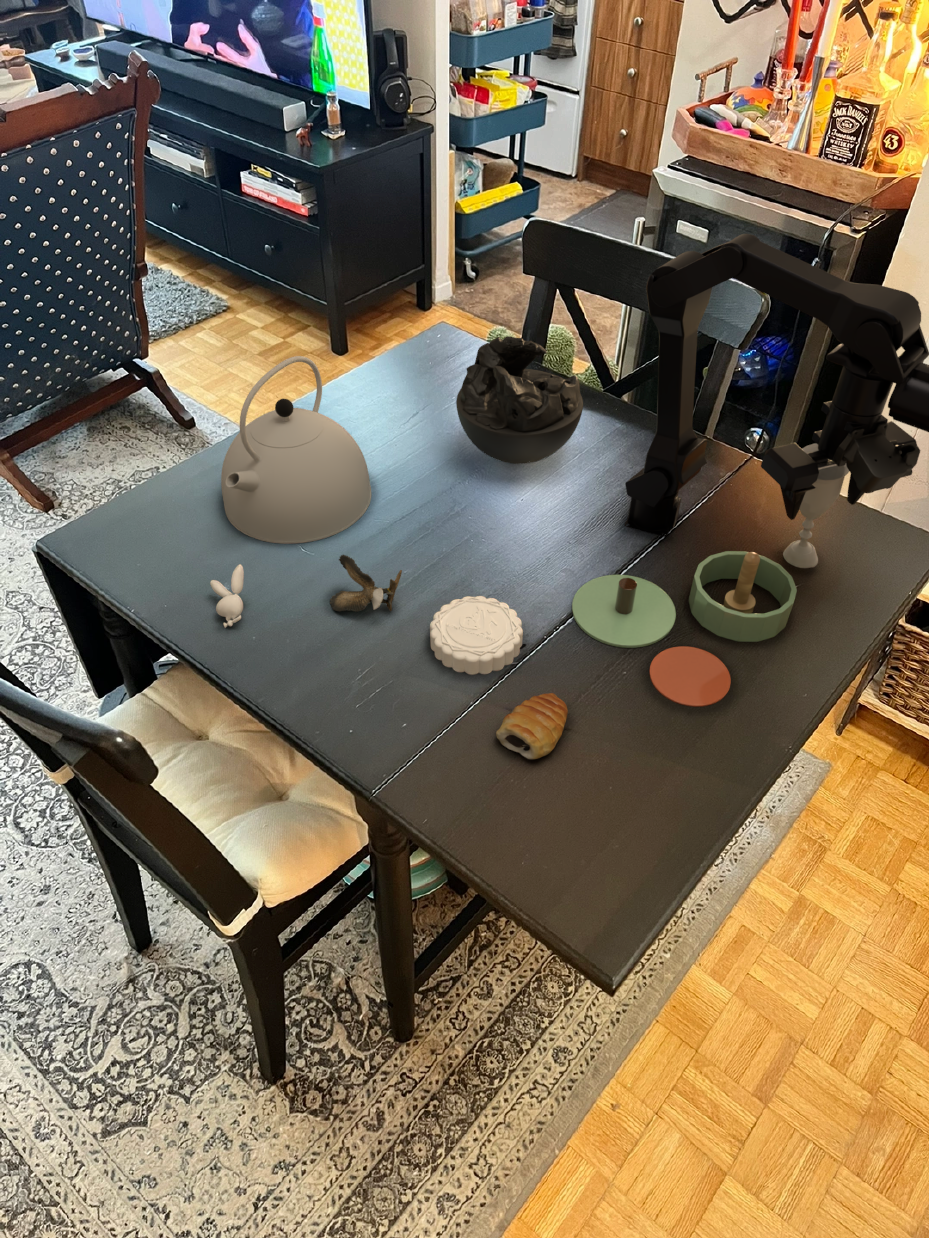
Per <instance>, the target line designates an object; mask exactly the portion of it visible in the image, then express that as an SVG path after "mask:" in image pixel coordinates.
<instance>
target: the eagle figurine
mask: <svg viewBox="0 0 929 1238" xmlns="http://www.w3.org/2000/svg"><path fill="white" fill-rule="evenodd" d="M338 561H339V562H340V563H339V564H341V565H342V568H344V569H345V570H346V572H347V574H348V576H349V577H350V578H351V579H352V580H353V581H354V582H355V583H356V584H358V585H359V586H361V587H362V590H360V591H359V590H355V591H354V590H350V591H348V590H347V591H345V590H340V591H339V592H336V593H335V594H333V595H331V597H330V599H329V604H330V608H332V610H334V611H335V612H346V611H349V612H350V611H351V612H354V613H355V612H356V613H357V612H361V611H364V610H365V609H366V607H367V606H368V605H369V604H372V609H373V610H374V611H375V610H377V609H378V608H380V606H381V604H385V605H386V607H387V609H388V610H389V611H390V612H392V611H393V602H394V599H395V598H394V597H395V594H396V591H397V589H398V586H399V583H400V580H401V577H402V572H403V570H402V569H400V570H399V571H398V573H397V575H396V577H395V578H394V579H392V578H390V579H389V586H388V587H385V588H382V587H378V586H375V585H376V584H375V583H376V582H375V581H374V580H373V578H372V576H370V575H369V574H368V573H365V572H363V571H362V570H361V567H359V566H358V564H357V563H356V560H355V559H353V558H352V557H350V556H348V555H346V554H341V555H340V556H339V558H338ZM384 594H386V596H387V597H386V599H385V598H384Z"/></svg>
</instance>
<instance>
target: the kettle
mask: <svg viewBox="0 0 929 1238" xmlns="http://www.w3.org/2000/svg"><path fill="white" fill-rule="evenodd" d="M295 363H304V364H307V365H308V366H309V367H310V368H311V369H312V372H313V374H314V378H315V384H316V394H315V399H314V404H313V407H312V410H310V409H305V408H301V407H294V404H293V402H292V401H291V399H288V398H280V399H277V400H276V402H275V406H274V409H273V410H271V411H268V412H266V413H264V414H262V415H260V416H258V417H256V418H254V419H253V420H252V421H250V422H249V423H248V424H246V422H247V415H248V412H249V408H250V406H251V404H252V401H253V400H254V398H255V396H256V394H257V393H258V392H259V391H260V389H261V388H262V387H263V386H264V385H265V384H266V383H268V381H269V380H270V379H271V378H272V377H273V376H275V375H276V374H277V373H279V372H280V371H282V370H284V369H285V368H287V367H288V366H290V365H292V364H295ZM322 396H323V382H322V376H321V373H320V370H319V368H318V366H317V365H316V363H315V362H314V361H313V360H312V359H310V358H308V357H307V356H304V355H303V356H302V355H295V356H291V357H288V358H286V359H284V360H282V361H280V362H279V363H278V364H276V365H275V366H274V367H272V368H271V369H269V370H268V371H267V372H265V374H264V375H262V377H260V379H258V381H257V382H256V383H255V384H254V385H253V387H252V388H251V390H250V391H249V392H248V394H247V395H246V398H245V399H244V402H243V404H242V407H241V410H240V416H239V432H238V433H237V434H236V436H235V437H234V438H233V440H232V442H231V444H230V445H229V447H228V449H227V450H226V453H225V456H224V459H223V462H222V467H221V475H220V485H221V495H222V500H223V508H224V512H225V515H226V517H227V519H228V521H229V522H230V523H231V525H232V526H233V527H234V528H235V529H236V530H238V531H239V532H240V533H242V534H244V535H245V536H248V537H250V538H252V539H254V540H255V539H256V540H259V541H262V542H267V543H273V544H285V545H288V544H291V545H293V544H294V545H295V544H304V543H311V542H316V541H320V540H324V539H327V538H329V537H333V536H335V535H337V534H339V533H341V532H343V531H345V530H347V529H348V528H349V527H351V526H353V525H355V523H356V522H358V521H359V520H360V519H361V518H362V517H363V516H364V515H365V513H366V511H368V508H369V507H370V504H371V501H372V486H371V480H370V473H369V467H368V465H367V461H366V459H365V456H364V454H363V451H362V450H361V447H360V445H359V444H358V442H357V440H355V439H354V437H353V435H351V434H350V433H349V431H348V430H346V428H345V427H343V426H342V425H341V424H340V423H338V422H337V421H336V420H334V419H332V418H330V417H329V416H327V415H325V414H322V413H320V412H319V411H320V406H321V401H322Z"/></svg>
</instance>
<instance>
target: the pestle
mask: <svg viewBox="0 0 929 1238" xmlns="http://www.w3.org/2000/svg"><path fill="white" fill-rule="evenodd" d="M748 552H749V551H748ZM759 555H760V554H758V553H757V552H754V551H750V552H749V553H747V554H746V555H745V557H744V560H743V563H742V567H741V570H740V574H739V578H738V579H737V582H736V584H735V589H731V590H729V591H727V592H726V594H725V595H724V598H723V604H722V606H724V607H725V608H727V609H731V610H735V611H738V612H742V613H746V614H754V609H755V606H756V602H757V601H756V598H755V597H754V595H753V594H751V592H752V589H753V585H754V584H755V583H754V579H755V576H756V572H757V569H758V566H759V562H760V557H759Z"/></svg>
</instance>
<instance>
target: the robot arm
mask: <svg viewBox="0 0 929 1238" xmlns="http://www.w3.org/2000/svg"><path fill="white" fill-rule="evenodd" d="M731 279H733V280H736V281H738V282H740V283H742V284H743V285H746V286H748V287H751V288H752V289H754V290H757V291H758V292H761V293H762V294H765V295H767V296H769V297H771V298H773V299H775V300H777V301H779V302H781V303H784V304H785V305H788V306H789V307H791V308H794V309H796V310H798V311H800V312H801V313H804V314H806V315H808V316H809V317H811V318H814V319H816V320H818V321H820V322H821V323H822V324H824V325H825V326H826V327H828V329H829V331H830V332H831V333H832V334H833V336H834V338H835V339H836V340H837V341H838V342H839V343H840V344H838V345H837V346H836V347H835V348H834V349H832V350H831V351H830V352H829V353H827V355H826V356H825V360H827V361H828V362H830V363H834V364H836V365H840V366H842V368H841V372H840V375H839V378H838V382H837V384H836V387H835V391H834V393H833V396H832V400H829V401H825V402H823V403H822V405H821V408H820V411H821V412H822V413H824V414H825V415H826V419H825V421H824V424H823V428H822V430H817V431H814V432H813V434H812V437H811V440H812V442H814V444H816V443H817V444H818V450H819V451H815V452H810V453H806V452H805V451H803V450H802V449H803V448H801V447H800V446H799V444H797V443H796V442H792V443H788V444H784V445H779V446H775V447H771V448H768V449H766V450H764V454H763V456H762V459H761V464H760V468H761V469H763V471H765V472H766V474H768V476H769V477H771V478H772V479H773V480H774V481H775V482H776V484H778V485H779V487H780V492H781V496H782V500H783V505H784V509H785V514H786V517H788V519H789V520H790V521H794V520H795V519H796V517H797V515H798V513H799V511H800V509H799V508H800V506H801V503H802V501H803V498H804V495H805V493H806V491H809V490H812V489H815V488H816V487H815V486H814V485H812V484H813V483H815V482H816V481H817V478H818V475H819V470H820V469H824V468H828V467H833V466H839V467H840V466H844V465H845V464H846V466H847V468H848V470H849V473H850V476H849V481H848V487H847V496H846V501H847V502H848V503H849V504H850V505H851V506H854V505H856V503H857V502H858V501H859V500H860V499H861V498H862V497H863V496H864V494H871V493H874V492H877V491H881V490H885V489H886V490H888V489H891V488H893V486H895V484H896V483H897V482H898V481H899V480H900V479H901V478H906V477H909V476H912V475H913V469H914V468H915V467H916V465H917V464H918V460H919V457H920V454H921V449H920V447H919V446H918V443H917V440H916V438H914V437H913V436H912V435H910V434H909V433H908V432H907V431H905V430H904V428H901V427H900V426H899V425H898V424H897V423H895V422H900V423H902V424H904V425H907V426H910V427H913V428H915V429H918V430H920V431H924V432H927V433H929V364H928V363H925V360H926V359H927V358H928V357H929V348H928V345H927V342H926V339H925V336H924V333H923V330H922V326H921V322H922V311H921V308H920V305H919V304H920V302H919V300H918V299H917V298H916V297H915V296H913V295H912V294H911V293H909V292H906V291H904V290H900V289H897V288H892V287H888V286H884V285H881V284H871V283H857V282H852V281H848V280H844V279H843V278H840V277H838V276H836V275H834V274H832V273H829V272H828V271H825V270H823V269H821V268H819V267H818V266H815V265H813V264H810V263H808V262H806V261H804V260H802V259H799V258H797V257H795V256H793V255H791V254H789V253H787V252H784V251H782V250H780V249H778V248H777V247H774V246H771V245H770V244H767V243H765V242H763V241H761V240H760V239H759V237H757V236H756V235H755V234H750V233H742V234H739V235H737V236H736V237H734V238H732V239H731V240H730V241H727V242H724V243H722V244H719V245H716V246H714V247H712V248H710V249H707V250H706V251H704V252H702V253H701V252H698V251H695V250H686V251H685V252H683V253H680V254H679V255H677V256H676V257H674V258H672V259H671V260H669V261H667V262H665V263H664V264H662V265H660V266H659V267H657V268H656V269H655V270H654V271H653V272H652V273H651V274H650V275H649V277H648V278H647V280H646V289H645V290H646V297H647V305H648V313H649V316H650V318H651V320H652V322H653V324H654V325H655V327H656V329H657V330H658V331H657V332H658V361H657V362H658V364H657V365H658V366H657V367H658V368H657V398H656V399H657V401H656V406H657V407H656V431H655V434H654V437H653V439H652V441H651V443H650V446H649V448H648V449H647V450H648V451H647V453H646V455H645V461H644V465H643V467H642V468H641V469H640V470H639V471H638V472H637V473H635V474H634V475H633V476H632V477H630V478H629V479H628V480H626V481H625V482H624V483H625V484H624V485H625V490H626V494H627V496H628V497H630V504H629V509H628V515H627V518H626V520H625V522H624V524H623V525H624V527H625V528H628V529H633V530H636V531H640V532H644V533H648V534H651V535H656V536H660V537H663V538H664V537H667V536H668V534H669V532H670V530H673V529H674V527H675V526H676V523H677V522H678V518H679V513H680V508H681V503H682V497H679V493H680V491H681V489H682V488H684V487H685V486H686V485H688V483H689V482H690V481H691V480H692V479H694V478H695V477H696V476H697V475H698V474H699V473H700V472H701V470H702V468H703V467H704V466H705V465H706V464H707V460H706V449H707V444H708V440H707V439H706V438H698V436H697V434H696V432H695V431H694V428H693V419H694V417H693V416H694V403H695V402H694V400H695V383H696V365H697V364H696V363H697V347H698V330H699V326H700V323H701V322H702V319H703V316H704V315H705V312H706V310H707V308H708V306H709V304H710V299H711V294H712V291H713V288H714V287H716V286H717V285H720V284H722V283H724V282H726V281H729V280H731ZM901 348H902V349H903V350H904V351H903V352H902V353H901V354H900V355H899V356H898V353H897V352H898V350H899V349H901ZM894 384H895V386H894ZM893 386H894V387H893ZM892 388H893V390H892ZM891 390H892V392H891ZM889 396H890V397H889ZM888 398H889V400H888ZM887 401H888V403H887ZM886 404H887V408H888V409H889V410H888V417H891V418H892V420H894V421H895V422H894V421H892V420H891V421H889V419H888V418H887V417H885V416H884V415H883V412H884V409H885V406H886Z"/></svg>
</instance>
